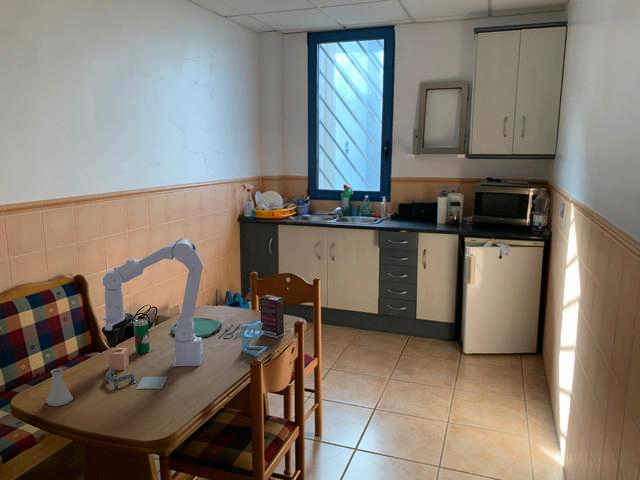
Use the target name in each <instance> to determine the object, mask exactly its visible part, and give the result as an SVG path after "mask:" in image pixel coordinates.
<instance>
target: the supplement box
mask: <svg viewBox="0 0 640 480" xmlns="http://www.w3.org/2000/svg"><path fill="white" fill-rule="evenodd" d="M259 298H260V299H259V302H260V303H259V305H260V322H262V323H263V324H262V328H261V330H262V331H263V332H264V334H263V335H262V336H267V337H271V338H275V339H279V338H281V337H283V336H284V335H285V331H284V330H285V329H284V327H285V323H284V320H285V319H284V314H285V313H284V297H281V296H275V295H270V294H265V295H262V296H260V297H259Z"/></svg>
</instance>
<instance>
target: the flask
mask: <svg viewBox="0 0 640 480" xmlns="http://www.w3.org/2000/svg"><path fill="white" fill-rule="evenodd" d="M63 372H64V369H63V368H59V367H58V368H54V369H51V370H50V373H51V376H52V377H51V385H50V389H49V392H48V395H47V397H46V404H47V405H48V407H56V408H57V407H60V406H63V405H67V404H69V403H70V402H72V401H73V400H74V397H73V395H72V394H71V392H70V390H69V388H68V386H67V384H66V382H65V379H64V377H63Z"/></svg>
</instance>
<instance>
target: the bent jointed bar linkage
mask: <svg viewBox="0 0 640 480" xmlns="http://www.w3.org/2000/svg"><path fill="white" fill-rule="evenodd" d="M116 377H117V373H115V370H114V368H110V367H109V370H107V372H106V373H105V376H104V378H105V384H106V385H109V384H110V383H111V382H112V383H113V389H114V390H118V389H119V383H121V382H124V381H127V380H129V379H130V380H129V381H128V384H129V385H134V384H136V383H137V382H138V381H137V380H136V378H135V374H133V373H128V374H125V375H123V376H120V377H118V378H116Z"/></svg>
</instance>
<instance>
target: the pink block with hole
mask: <svg viewBox="0 0 640 480" xmlns="http://www.w3.org/2000/svg"><path fill="white" fill-rule="evenodd" d="M129 358H130V357H129V348H128V347H115V348H112V349H111V350H110V351H109V353H108V365H109V369H110V368H114V371H125V370H126V369H127V367H128V366H129V365H130V359H129Z"/></svg>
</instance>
